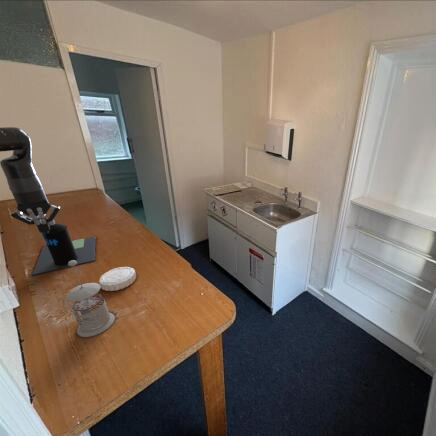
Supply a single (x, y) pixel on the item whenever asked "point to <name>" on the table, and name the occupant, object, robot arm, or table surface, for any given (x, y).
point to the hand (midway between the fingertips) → (45, 232)
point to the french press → (86, 300)
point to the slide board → (46, 264)
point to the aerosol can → (60, 244)
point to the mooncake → (117, 278)
